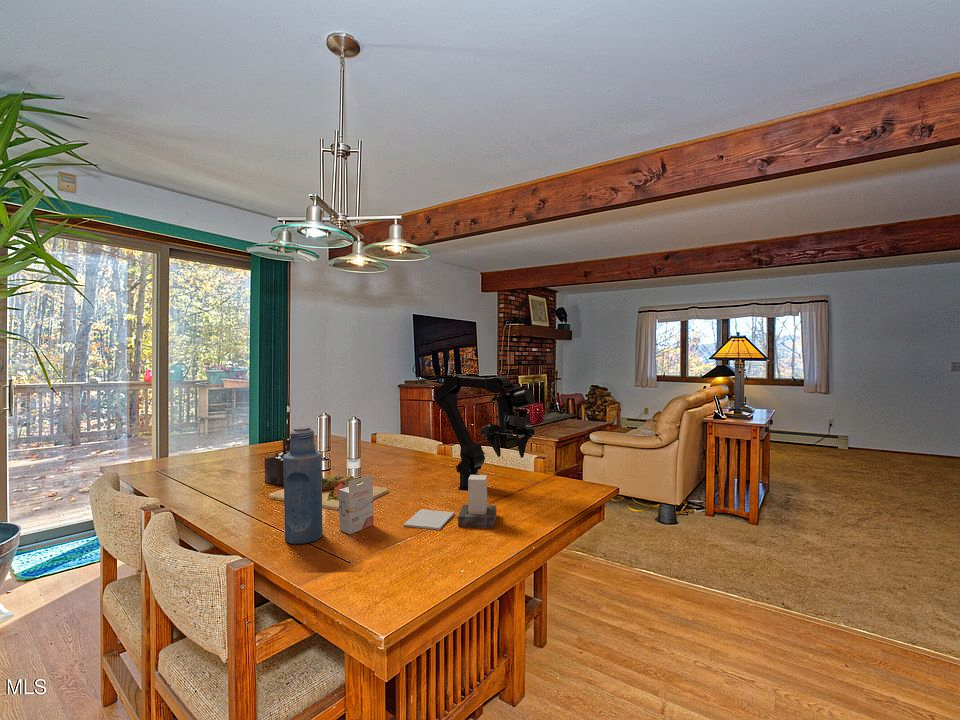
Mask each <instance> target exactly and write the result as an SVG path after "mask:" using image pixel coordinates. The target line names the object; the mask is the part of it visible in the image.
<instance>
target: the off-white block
mask: <svg viewBox="0 0 960 720" xmlns="http://www.w3.org/2000/svg"><path fill="white" fill-rule="evenodd" d="M467 491H468V492H467V494H468V495H467V497H468V498H467V499H468V500H467V501H468V504H467V505H468V514H476V515H487V505H488V474H487V475H486V474H479V475H470V477H469V479H468V490H467Z"/></svg>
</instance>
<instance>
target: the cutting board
mask: <svg viewBox="0 0 960 720" xmlns="http://www.w3.org/2000/svg"><path fill="white" fill-rule="evenodd" d="M355 479H356V478H355V476H354V475H351V474H349V475H347V476H344V475H335V476H334V477H332V478H328V477H326V478H324V477H323V476H322V509H326V510H332V511H338V512H339V489H343V488H346V487H349V485H348V482H349V481H351V480H355ZM360 483H362V481H360V482H359V483H357V484H360ZM357 484H356V485H357ZM372 486H373V501H374V500H375V499H378V498H379V497H382V496H384V495H386V494H389V488H387V487H383V486H377V485H376V486H375V485H372ZM268 495H269V496H268V497H269V499H270V500H273V499H275V501H279V500H281V501H280V502H284V488H282V489H280V490H276V491H274V492H271V493H269V494H268Z"/></svg>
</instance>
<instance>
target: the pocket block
mask: <svg viewBox="0 0 960 720" xmlns="http://www.w3.org/2000/svg"><path fill="white" fill-rule="evenodd" d="M496 519H497V505H489V504H487V515H476V514H468V504H463V505H462V507H461V509H460V511H459V514H458V515H457V526H458V528H479V529H480V528H481V529H482V528H483V529H494V528H495V523H496Z"/></svg>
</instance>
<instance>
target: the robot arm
mask: <svg viewBox="0 0 960 720" xmlns="http://www.w3.org/2000/svg"><path fill="white" fill-rule="evenodd" d="M462 388H473V389H482V390H485V391H486V392H489V393H492V394H494V396H493V397H492V398H491V402H493V403H496V407H497V415H495V418H496V420H498V424H496V423H494V424H493V423H488V424H486V425H484V426H482V427H481V429H480V437H484V439H485V440H487V442H488V443H489V444H490V446H491V447H492V449H493V451H494V452H495V454H496V456H497V458H500V457H501V455H502V454H501V453H502V452H501V450H502V449H501V444H500V439H501V435H512V436H513V435H514V436H515V437H516V439H515V441H516V446H517V449H518V454H519V457H520V458H521V459H522V458H525V452H526V447H527V444H528V441H529V440H530V439H532V438H533V437H534V436H536V430H535V428H533V426H532V427H528V426H527V425H530V424H531V416H530V414H522V416H519V415H518V412H515V408H516V409H522V408H525V407H528V406H532V405H534V404H535V400H536V399H535V393H533V392H532V390H531V389H530V388H529V386H528V384H525V385H522V386H519V387H517V386H516V385H515V384H514V383H512V382H511V381H510V379H509V377H508V376H505V375H504V376H493V377H477V376H468V375H461V374H458V375H453V376H451V377H450V378H449V379H448V381H446V382H445V383H443V384H442V385H441V386H440V387H438V388H437V389H435V391H434V394H433V399H434V401H435V403H436V405H437V406H438V407H439V409H441V410H443V412H444V413H445V414H446V417H447V419H448V422H449V424H450V426H451V429H452V431H453V433H454V435H455V437H456V440H457V443H458V445H459V446H460V452H459V453H460V454H459V456H460V460H461V461H460V462H459V463H458V464H457V465H455V469H456V472H457V473H458V474H459V486H458V490H467V491H468V479H469V477H470V475H480V474H479V470H481V469H482V466H483V465H484V463H485V460H486V458H485V454H486V453H485V451H484V450H483V446H482V445H481V444H480V443H478V444H476V443H475V442H474V441H473V439H472V437H471V434H470V433H469V430H468V428H467V425H466V423H465V421H464V419H463V417H462V414H461V412H460V410H459V407H458V403H459V402H458V401H459V398H458V394H459V393H460V392H461V391H462ZM498 394H499V395H498Z"/></svg>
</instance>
